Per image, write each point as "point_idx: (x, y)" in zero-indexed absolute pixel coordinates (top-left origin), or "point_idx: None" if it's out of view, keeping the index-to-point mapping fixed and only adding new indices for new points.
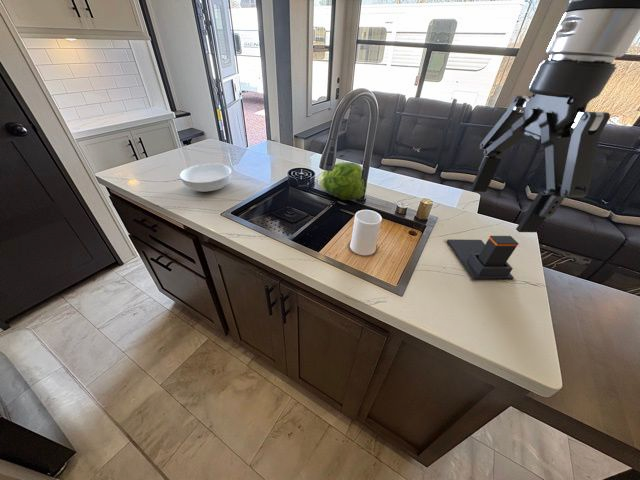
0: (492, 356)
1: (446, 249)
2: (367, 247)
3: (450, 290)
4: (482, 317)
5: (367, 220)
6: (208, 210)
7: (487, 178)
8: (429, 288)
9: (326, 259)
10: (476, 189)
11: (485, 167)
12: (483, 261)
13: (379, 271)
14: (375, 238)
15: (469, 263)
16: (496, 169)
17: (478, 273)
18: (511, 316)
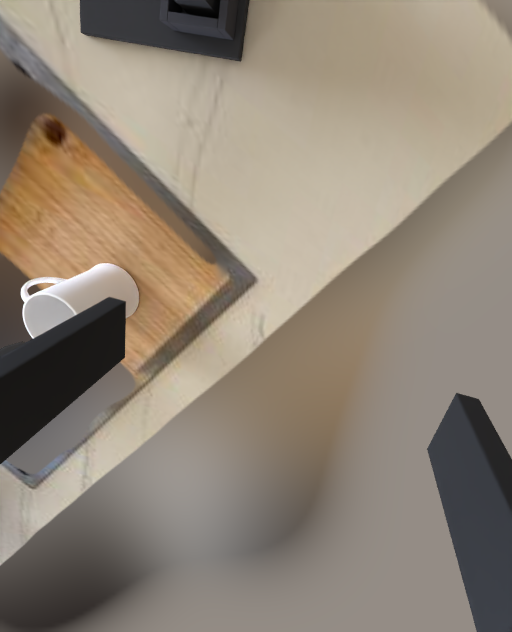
0: (435, 182)
1: (120, 61)
2: (126, 304)
3: (262, 157)
4: (350, 129)
5: (49, 299)
6: (23, 501)
7: (80, 352)
8: (247, 207)
9: (147, 372)
10: (118, 350)
11: (36, 422)
12: (200, 4)
13: (186, 290)
14: (107, 294)
15: (186, 32)
16: (38, 357)
17: (229, 38)
18: (371, 38)
